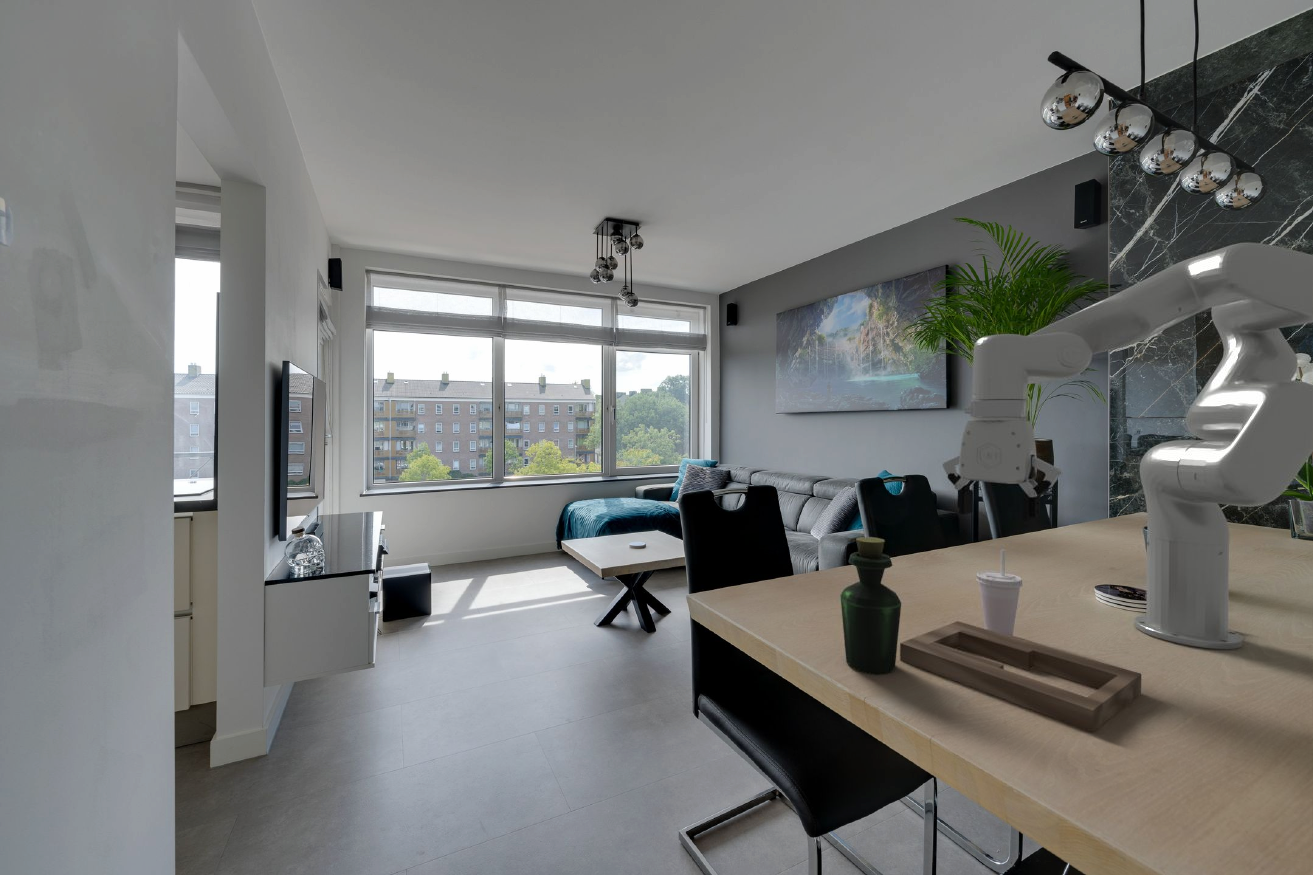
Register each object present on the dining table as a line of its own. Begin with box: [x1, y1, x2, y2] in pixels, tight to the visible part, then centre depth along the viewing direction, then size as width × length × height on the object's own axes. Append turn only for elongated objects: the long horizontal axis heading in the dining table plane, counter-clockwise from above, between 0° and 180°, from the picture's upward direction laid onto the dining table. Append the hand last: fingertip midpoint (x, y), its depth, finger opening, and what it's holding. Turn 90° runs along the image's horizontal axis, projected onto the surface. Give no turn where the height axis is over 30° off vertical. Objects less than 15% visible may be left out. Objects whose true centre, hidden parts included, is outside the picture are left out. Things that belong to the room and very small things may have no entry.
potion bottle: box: [840, 536, 902, 675], centre depth 78 cm, size 8×8×18 cm
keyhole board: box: [899, 620, 1142, 733], centre depth 74 cm, size 16×23×2 cm
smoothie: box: [975, 549, 1023, 637], centre depth 89 cm, size 6×6×14 cm
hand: (996, 517), depth 88 cm, fingers open, 9 cm apart
